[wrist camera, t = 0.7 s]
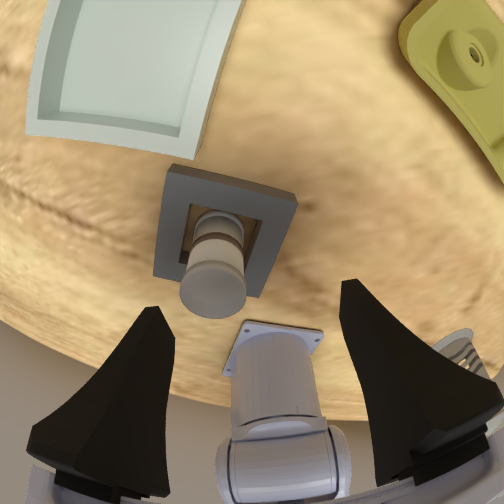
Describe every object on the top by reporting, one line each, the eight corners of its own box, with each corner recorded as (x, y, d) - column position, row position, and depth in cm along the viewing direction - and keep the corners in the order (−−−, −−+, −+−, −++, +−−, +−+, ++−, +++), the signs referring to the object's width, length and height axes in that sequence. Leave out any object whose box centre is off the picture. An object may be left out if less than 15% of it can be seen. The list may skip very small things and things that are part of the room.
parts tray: (200, 146, 16) (193, 160, 14) (50, 123, 14) (25, 134, 12) (253, -18, 10) (255, -35, 8) (85, -26, 8) (62, -36, 6)
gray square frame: (257, 284, 23) (258, 298, 21) (157, 263, 21) (152, 276, 20) (294, 193, 18) (298, 203, 17) (172, 163, 17) (167, 171, 16)
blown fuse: (236, 255, 21) (236, 323, 16) (191, 245, 20) (176, 311, 15) (250, 215, 19) (254, 278, 14) (200, 203, 18) (184, 263, 13)
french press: (463, 356, 34) (512, 482, 14) (403, 382, 36) (442, 523, 15) (481, 319, 29) (547, 466, 8) (413, 349, 30) (469, 523, 10)
